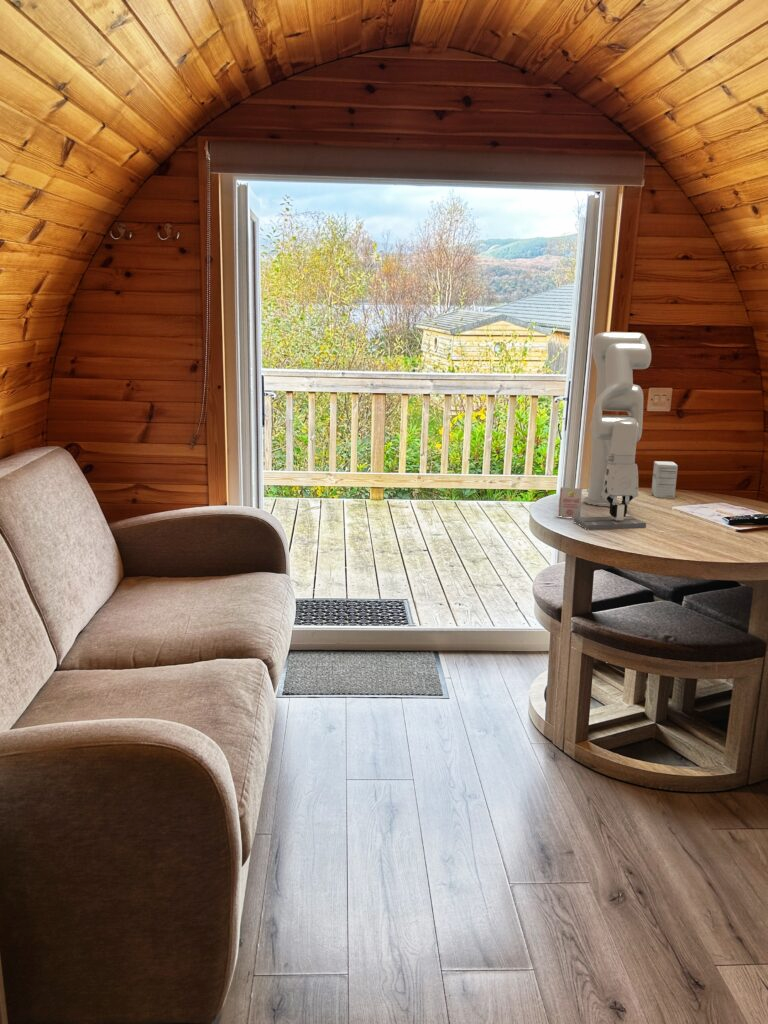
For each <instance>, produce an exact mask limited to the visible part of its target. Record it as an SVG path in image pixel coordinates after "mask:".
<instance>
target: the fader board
mask: <svg viewBox="0 0 768 1024" xmlns="http://www.w3.org/2000/svg"><path fill="white" fill-rule="evenodd" d="M574 522H576V523H578V524H580V525H581V526H583V527H585V528H586V529H601V530H617V529H619V530H620V529H623V528H625V529H640V528H641V529H645V528H647V522H645V521H643V520H641V519H639V518H637V517H635V516H633V515H626V516H625V517H624V518H623V520H617V521H616V520H614V519H612V516H611V515H610V516H587V517H586V516H585V517H581V516H580V518H574V519H573V523H574ZM576 523H575V524H576ZM578 524H577V525H578ZM581 526H580V527H581ZM583 527H582V528H583ZM585 528H584V529H585ZM586 529H585V530H586Z"/></svg>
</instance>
